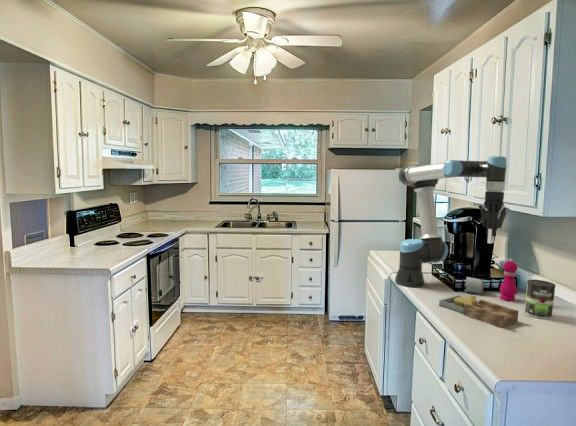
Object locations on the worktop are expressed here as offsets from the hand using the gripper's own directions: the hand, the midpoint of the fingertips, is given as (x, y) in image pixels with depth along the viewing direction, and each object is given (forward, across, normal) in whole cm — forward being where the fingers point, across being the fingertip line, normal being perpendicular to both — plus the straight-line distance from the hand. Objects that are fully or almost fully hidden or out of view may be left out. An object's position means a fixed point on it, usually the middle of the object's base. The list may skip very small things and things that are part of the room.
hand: (490, 242), depth 183 cm
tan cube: (+26, 0, -17) cm, 31 cm away
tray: (+28, -3, -15) cm, 32 cm away
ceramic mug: (+29, -14, +11) cm, 34 cm away
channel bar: (+28, +12, -17) cm, 35 cm away
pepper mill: (+29, +2, +15) cm, 32 cm away
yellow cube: (+26, +3, -17) cm, 31 cm away
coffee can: (+29, +20, +6) cm, 35 cm away
